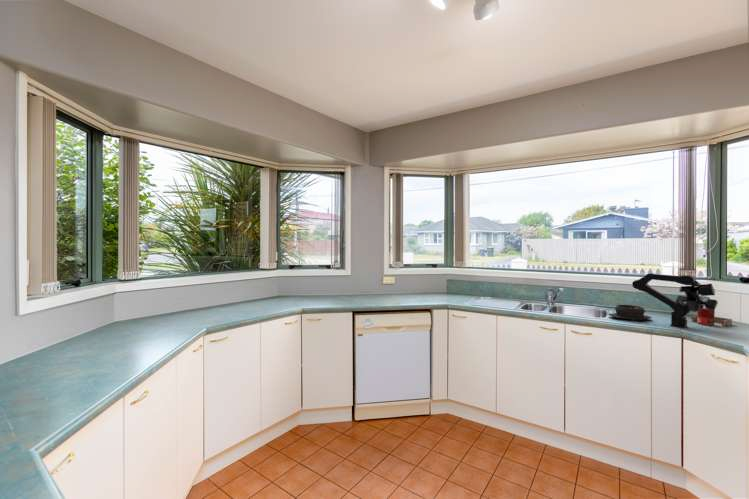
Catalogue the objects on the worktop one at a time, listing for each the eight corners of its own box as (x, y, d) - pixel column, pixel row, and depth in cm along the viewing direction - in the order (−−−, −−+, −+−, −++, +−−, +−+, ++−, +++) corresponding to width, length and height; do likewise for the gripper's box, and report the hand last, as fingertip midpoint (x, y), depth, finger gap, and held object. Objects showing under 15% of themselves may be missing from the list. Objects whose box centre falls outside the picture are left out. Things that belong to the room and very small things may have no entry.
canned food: (711, 326, 215) (711, 308, 214) (694, 323, 222) (695, 306, 222) (716, 325, 218) (717, 307, 218) (700, 322, 225) (700, 305, 225)
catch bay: (723, 326, 214) (723, 321, 214) (691, 321, 228) (691, 316, 228) (731, 324, 219) (731, 319, 219) (700, 319, 233) (700, 314, 233)
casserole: (640, 316, 243) (640, 304, 243) (659, 322, 225) (659, 309, 225) (602, 315, 246) (602, 303, 246) (617, 321, 228) (617, 308, 228)
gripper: (668, 301, 217) (676, 317, 222) (707, 307, 200) (715, 324, 205) (675, 288, 220) (683, 304, 225) (714, 292, 204) (721, 310, 209)
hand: (699, 310), depth 216 cm, fingers closed
